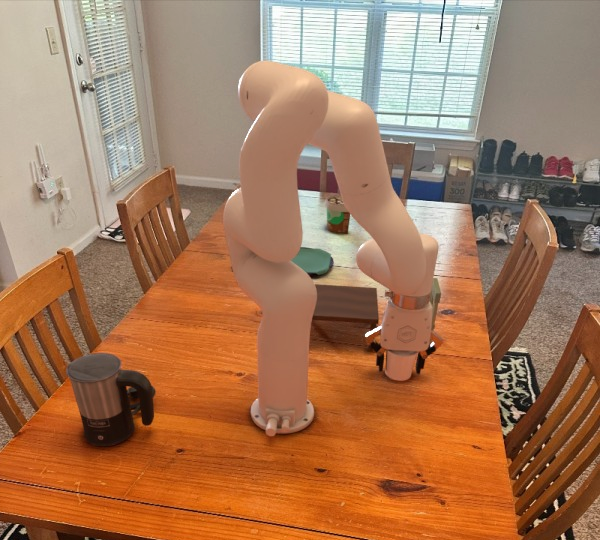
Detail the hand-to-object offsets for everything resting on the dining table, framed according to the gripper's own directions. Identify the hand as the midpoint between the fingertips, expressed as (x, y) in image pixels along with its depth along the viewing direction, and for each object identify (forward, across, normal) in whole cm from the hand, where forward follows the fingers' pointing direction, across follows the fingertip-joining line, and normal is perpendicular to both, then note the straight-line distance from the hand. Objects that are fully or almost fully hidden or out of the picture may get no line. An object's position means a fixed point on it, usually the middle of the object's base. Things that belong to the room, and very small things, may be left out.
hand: (399, 369), depth 124 cm
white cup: (+2, 0, 0) cm, 2 cm away
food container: (+2, -17, +86) cm, 88 cm away
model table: (+1, -14, +16) cm, 21 cm away
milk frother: (+1, -55, -22) cm, 59 cm away
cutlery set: (+2, -31, +55) cm, 63 cm away
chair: (+1, +5, +16) cm, 17 cm away
